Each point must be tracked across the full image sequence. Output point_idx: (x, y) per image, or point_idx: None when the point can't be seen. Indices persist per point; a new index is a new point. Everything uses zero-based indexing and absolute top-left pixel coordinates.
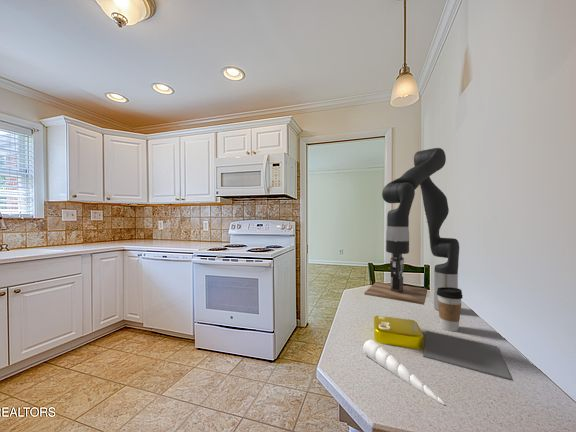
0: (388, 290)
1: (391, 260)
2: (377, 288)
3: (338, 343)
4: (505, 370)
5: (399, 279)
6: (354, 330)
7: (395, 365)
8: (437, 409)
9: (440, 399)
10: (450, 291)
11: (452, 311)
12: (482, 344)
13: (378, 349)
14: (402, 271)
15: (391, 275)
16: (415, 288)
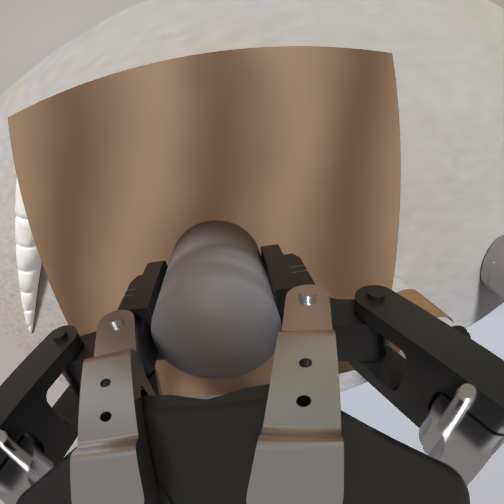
0: (167, 215)
1: (83, 490)
2: (161, 123)
3: (43, 83)
4: (209, 397)
5: (158, 357)
6: (157, 57)
7: (17, 265)
8: (17, 324)
9: (30, 329)
10: None
11: (388, 345)
12: None
13: (18, 221)
14: (363, 362)
15: (45, 345)
16: None
